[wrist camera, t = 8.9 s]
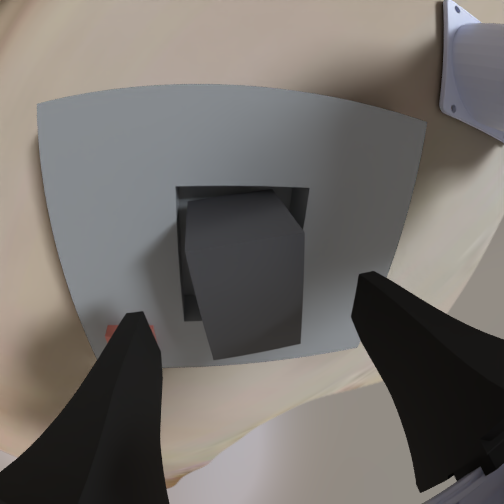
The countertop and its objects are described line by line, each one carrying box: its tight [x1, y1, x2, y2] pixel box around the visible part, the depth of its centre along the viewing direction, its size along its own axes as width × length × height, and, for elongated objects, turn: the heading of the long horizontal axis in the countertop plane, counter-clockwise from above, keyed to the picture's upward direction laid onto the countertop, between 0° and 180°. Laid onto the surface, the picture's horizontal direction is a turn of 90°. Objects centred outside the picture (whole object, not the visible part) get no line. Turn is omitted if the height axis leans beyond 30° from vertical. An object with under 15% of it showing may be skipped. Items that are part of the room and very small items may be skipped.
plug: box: [185, 189, 305, 360], centre depth 12 cm, size 4×5×5 cm
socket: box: [37, 84, 427, 368], centre depth 13 cm, size 16×14×3 cm
